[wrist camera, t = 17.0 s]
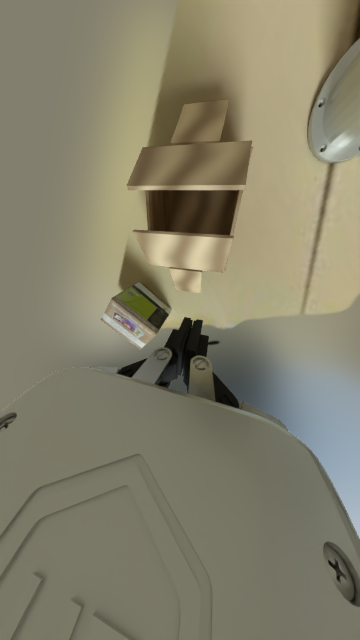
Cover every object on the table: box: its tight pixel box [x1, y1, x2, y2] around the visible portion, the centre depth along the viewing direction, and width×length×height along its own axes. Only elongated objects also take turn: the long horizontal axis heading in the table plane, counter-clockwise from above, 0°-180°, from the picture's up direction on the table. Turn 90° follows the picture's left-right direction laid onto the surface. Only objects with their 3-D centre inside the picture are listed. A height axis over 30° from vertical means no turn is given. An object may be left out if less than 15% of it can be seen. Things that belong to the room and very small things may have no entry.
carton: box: [146, 147, 253, 271], centre depth 29 cm, size 16×16×12 cm
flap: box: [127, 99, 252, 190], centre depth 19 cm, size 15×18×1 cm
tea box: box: [101, 282, 171, 349], centre depth 44 cm, size 15×10×15 cm, turn 50°
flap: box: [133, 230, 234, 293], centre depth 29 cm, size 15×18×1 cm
